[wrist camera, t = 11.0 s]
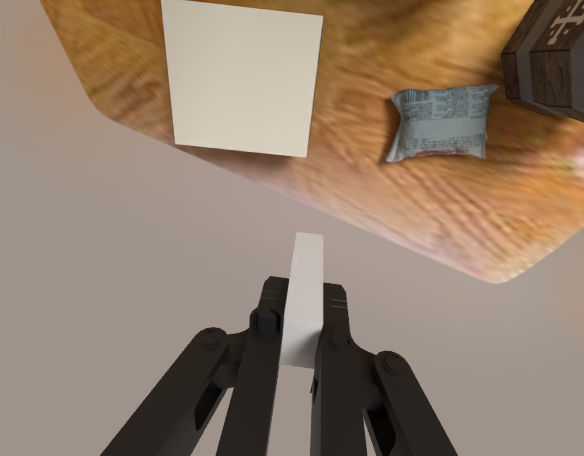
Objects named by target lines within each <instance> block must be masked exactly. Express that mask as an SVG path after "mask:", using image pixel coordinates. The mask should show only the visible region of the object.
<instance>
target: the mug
mask: <svg viewBox="0 0 584 456" xmlns="http://www.w3.org/2000/svg"><path fill="white" fill-rule="evenodd" d="M501 59H502V67H503V74H504V82H505V90H506V98H507V99H508V100H510V101H512V102H515V103H517V104H519V105H522V106H524V107H526V108H529V109H531V110H533V111H535V112H538V113H540V114H542V115H559V116H563V117H568V118H572V119H575V120H578V121H581V122H584V0H534V2H533V4H532V5H531V7H530V8H529V10H528V12H527V13H526V15H525V16H524V18H523V20H522V21H521V23H520V24H519V26H518V27H517V29H516V31H515V32H514V34H513V35H512V37H511V39H510V40H509V42H508V43H507V45H506V47H505V48H504V50H503V51H502V53H501Z"/></svg>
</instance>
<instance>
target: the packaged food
mask: <svg viewBox="0 0 584 456" xmlns="http://www.w3.org/2000/svg"><path fill="white" fill-rule="evenodd" d="M499 86H500V84H491V85H490V84H489V85H480V86H465V87H459V88H448V89H435V90H434V89H433V90H423V91H422V90H417V89H404V90H402V91H399V92H397V93H395V94H393V95H391V101H392V102H393V104H394V105H395V106H396V108H397V110H398V112H399V113H400V117H401V122H400V125H399V128H398V131H397V133H396V136H395V139H394V141H393V144H392V146H391V149H390V152H389V153H388V154H387V157H386V159H385V160H386V161H387V162H398V161H401V160H403V159H404V158H406V157H420V156H426V155H431V154H446V155H450V154H460V155H471V156H475V157H479V158H482V159H485V158H486V154H485V140H487V138H488V135H487V133H486V121H487V117H488V112H489V100H490V94H492V93H493V92H495V91H496V90H497V88H499Z"/></svg>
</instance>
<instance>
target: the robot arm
mask: <svg viewBox="0 0 584 456" xmlns="http://www.w3.org/2000/svg"><path fill="white" fill-rule="evenodd" d="M279 364H284V365H291V366H299V367H305V368H312V369H313V368H314V377H313V382H312V387H311V391H310V393H312V414H311V443H310V456H367V448H366V439H365V430H364V422H363V417H364V420H365V423H366V426H367V429H368V432H369V435H370V438H371V441H372V444H373V447H374V450H375V453H376V456H458V455H457V453H456V451H455V449H454V447H453V445H452V444H451V442H450V440H449V438H448V436H447V434H446V433H445V431H444V429H443V427H442V425H441V423H440V421H439V420H438V418H437V416H436V414H435V412H434V410H433V409H432V407H431V405H430V403H429V401H428V399H427V397H426V395H425V394H424V392H423V390H422V388H421V386H420V384H419V383H418V381H417V379H416V377H415V375H414V373H413V371H412V369H411V368H410V366H409V364H408V363H407V361H406V360H405V359H404V358H403V357H401V356H400V355H399V354H397V353H394V352H392V351H382V352H379V353H378V354H377V355H375V354H372V353H370V352H368V351H365V350H364V349H362V348H360V347H359V346H358V345H357V344H356V343H355V342H354V341H353V339H352V337H351V334H350V327H349V318H348V309H347V298H346V292H345V290H344V289H343V287H342V286H341V285H338V284H331V283H323V235H319V234H310V233H303V232H297V234H296V241H295V247H294V254H293V261H292V267H291V274H290V279H288V278H281V277H273V276H270V277H269V278H268V279H267V280H266V281H265V283H264V286H263V289H262V293H261V298H260V301H259V305H258V307H257V308H256V309H254V310H253V311H252V313H251V314H250V326H249V328H248V329H247V330H245V331H243V332H240V333H235V334H228V335H227V333H226V332H225V331H224V330H222V329H220V328H215V327H212V328H206V329H204V330H202V331H200V332H199V333H198V334H197V335H195V337H194V338H193V339H192V341H191V342H190V343H189V344H188V346H187V347H186V348H185V349H184V351H183V352H182V353H181V354H180V356H179V357H178V358H177V359H176V361H175V362H174V363H173V364H172V366H171V367H170V368H169V370H168V371H167V372H166V373H165V374H164V376H163V377H162V378H161V380H160V381H159V382H158V383H157V384H156V386H155V387H154V388H153V390H152V391H151V392H150V393H149V395H148V396H147V397H146V398H145V400H144V401H143V402H142V403H141V405H140V406H139V407H138V409H137V410H136V411H135V412H134V413H133V415H132V416H131V417H130V419H129V420H128V421H127V423H126V424H125V425H124V426H123V427H122V428H121V430H120V431H119V433H118V434H117V435H116V436H115V437H114V439H113V440H112V441H111V442H110V444H109V445H108V446H107V447H106V449H105V450H104V451H103V452H102V454H101V455H100V456H190V455H191V453H192V452H193V449H194V448H195V446H196V445H197V443H198V441H199V439H200V437H201V436H202V434H203V432H204V430H205V428H206V427H207V425H208V423H209V421H210V420H211V418H212V416H213V414H214V412H215V411H216V409H217V407H218V405H219V403H220V401H221V400H222V398H223V396H224V395H225V393H226V390H227V389H228V388H231V387H234V389H233V393H232V396H231V400H230V404H229V408H228V411H227V415H226V419H225V423H224V426H223V430H222V434H221V437H220V441H219V445H218V449H217V452H216V456H267V449H268V442H269V435H270V427H271V421H272V414H273V406H274V399H275V392H276V385H277V378H278V369H279ZM314 364H315V366H314Z"/></svg>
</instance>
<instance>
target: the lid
mask: <svg viewBox="0 0 584 456" xmlns="http://www.w3.org/2000/svg"><path fill="white" fill-rule="evenodd" d="M161 6H162V16H163V26H164V36H165V46H166V56H167V66H168V76H169V86H170V96H171V106H172V116H173V126H174V136H175V144H180V145H190V146H199V147H209V148H219V149H228V150H238V151H247V152H257V153H267V154H276V155H286V156H295V157H305V158H306V155H307V147H308V138H309V130H310V122H311V113H312V105H313V97H314V89H315V80H316V72H317V64H318V55H319V47H320V39H321V31H322V22H323V16H319V15H311V14H302V13H293V12H284V11H275V10H266V9H257V8H248V7H239V6H231V5H222V4H213V3H204V2H195V1H186V0H161Z"/></svg>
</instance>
